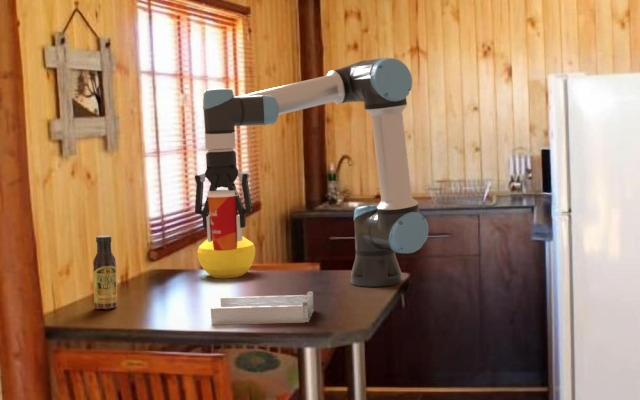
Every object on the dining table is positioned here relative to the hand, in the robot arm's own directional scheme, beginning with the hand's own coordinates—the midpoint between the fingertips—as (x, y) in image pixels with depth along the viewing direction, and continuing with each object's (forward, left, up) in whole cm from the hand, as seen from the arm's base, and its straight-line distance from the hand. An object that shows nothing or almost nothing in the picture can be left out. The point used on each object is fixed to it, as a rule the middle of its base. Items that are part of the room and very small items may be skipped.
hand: (225, 240), depth 239 cm
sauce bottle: (+37, -13, -20) cm, 44 cm away
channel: (-9, +3, -19) cm, 22 cm away
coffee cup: (0, 0, -2) cm, 2 cm away
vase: (+12, -58, -20) cm, 63 cm away
